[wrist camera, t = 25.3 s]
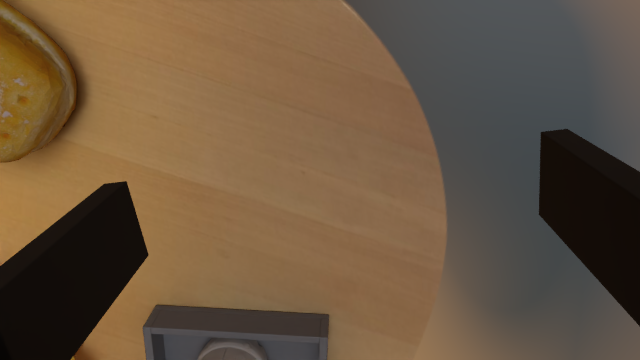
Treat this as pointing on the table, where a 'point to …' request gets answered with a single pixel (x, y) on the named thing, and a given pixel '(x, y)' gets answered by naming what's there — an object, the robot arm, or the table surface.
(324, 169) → the table surface
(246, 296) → the table surface
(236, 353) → the mug
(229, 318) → the tray
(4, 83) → the bread
